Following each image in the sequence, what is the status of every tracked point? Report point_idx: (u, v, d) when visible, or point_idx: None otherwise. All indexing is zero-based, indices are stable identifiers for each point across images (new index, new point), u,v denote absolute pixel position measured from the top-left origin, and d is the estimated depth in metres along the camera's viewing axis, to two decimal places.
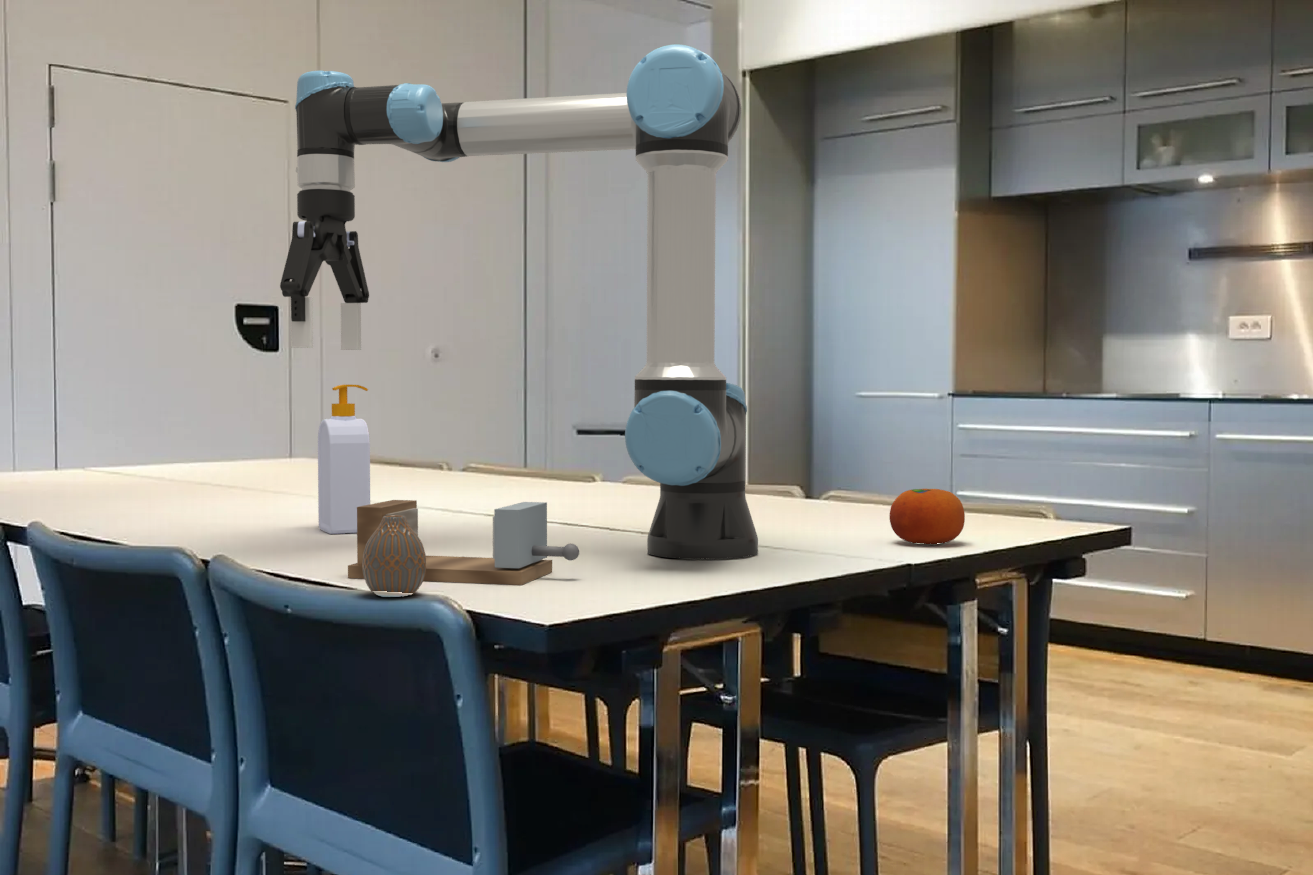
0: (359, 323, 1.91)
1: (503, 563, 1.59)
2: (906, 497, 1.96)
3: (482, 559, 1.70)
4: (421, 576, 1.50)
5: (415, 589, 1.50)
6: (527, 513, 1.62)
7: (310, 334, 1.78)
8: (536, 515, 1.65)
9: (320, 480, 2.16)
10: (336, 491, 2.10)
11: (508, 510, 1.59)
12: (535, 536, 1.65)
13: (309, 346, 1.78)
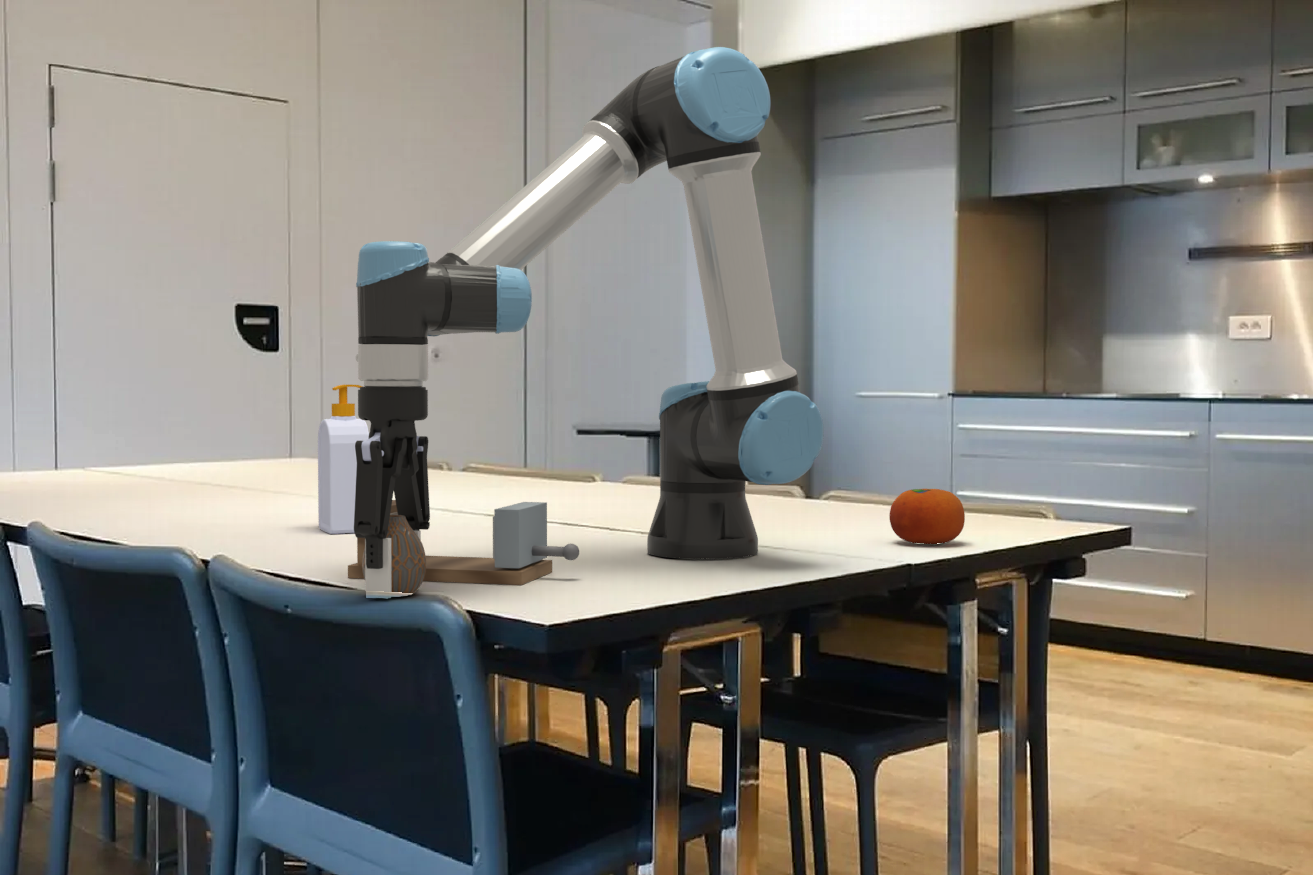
0: None
1: (503, 563, 1.59)
2: (906, 497, 1.96)
3: (482, 559, 1.70)
4: (421, 575, 1.50)
5: (415, 589, 1.50)
6: (527, 513, 1.62)
7: (388, 584, 1.47)
8: (536, 515, 1.65)
9: (320, 480, 2.16)
10: (336, 491, 2.10)
11: (508, 510, 1.59)
12: (535, 536, 1.65)
13: None
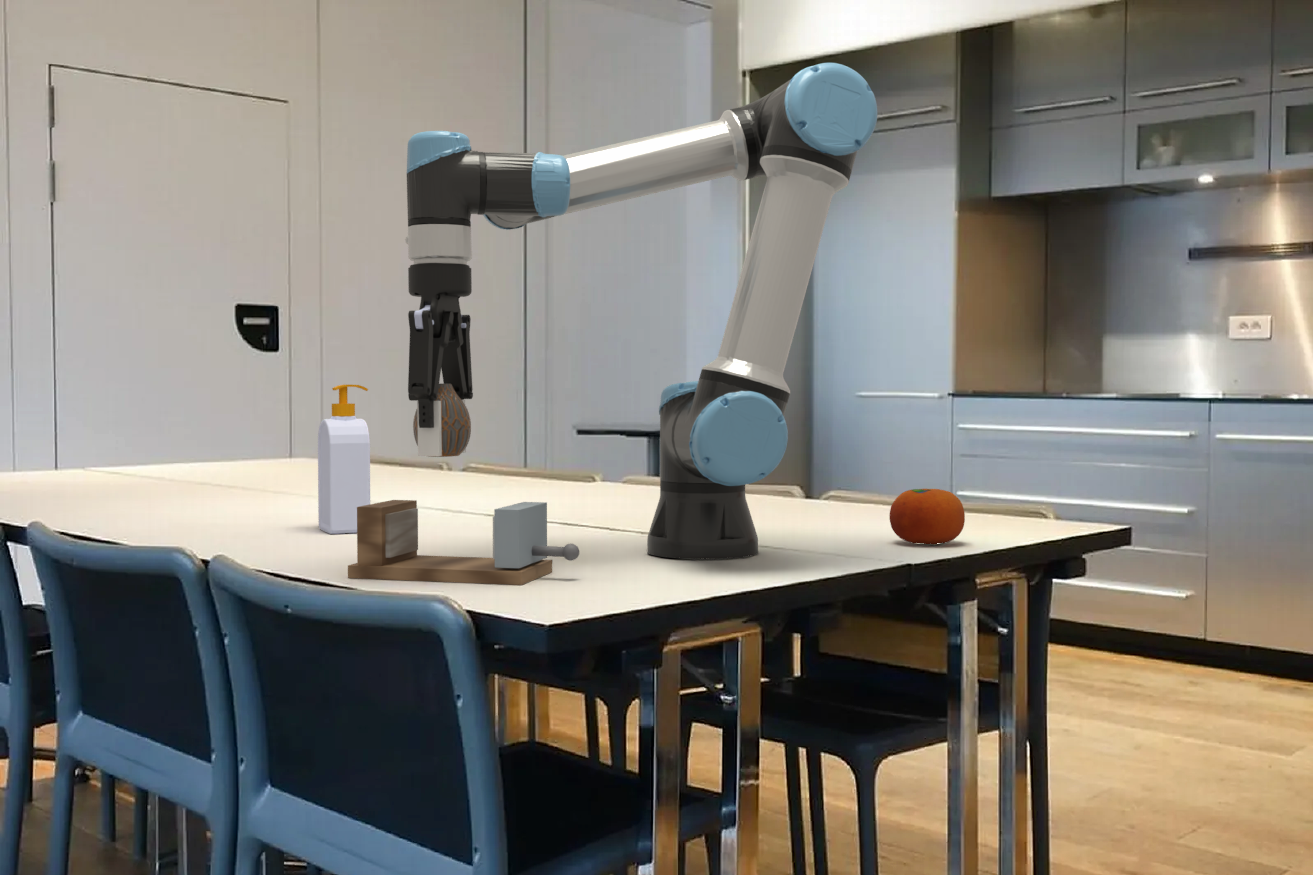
0: None
1: (503, 563, 1.59)
2: (906, 497, 1.96)
3: (482, 559, 1.70)
4: (467, 437, 1.65)
5: (461, 449, 1.65)
6: (527, 513, 1.62)
7: (439, 442, 1.62)
8: (536, 515, 1.65)
9: (320, 480, 2.16)
10: (336, 491, 2.10)
11: (508, 510, 1.59)
12: (535, 536, 1.65)
13: (438, 455, 1.62)
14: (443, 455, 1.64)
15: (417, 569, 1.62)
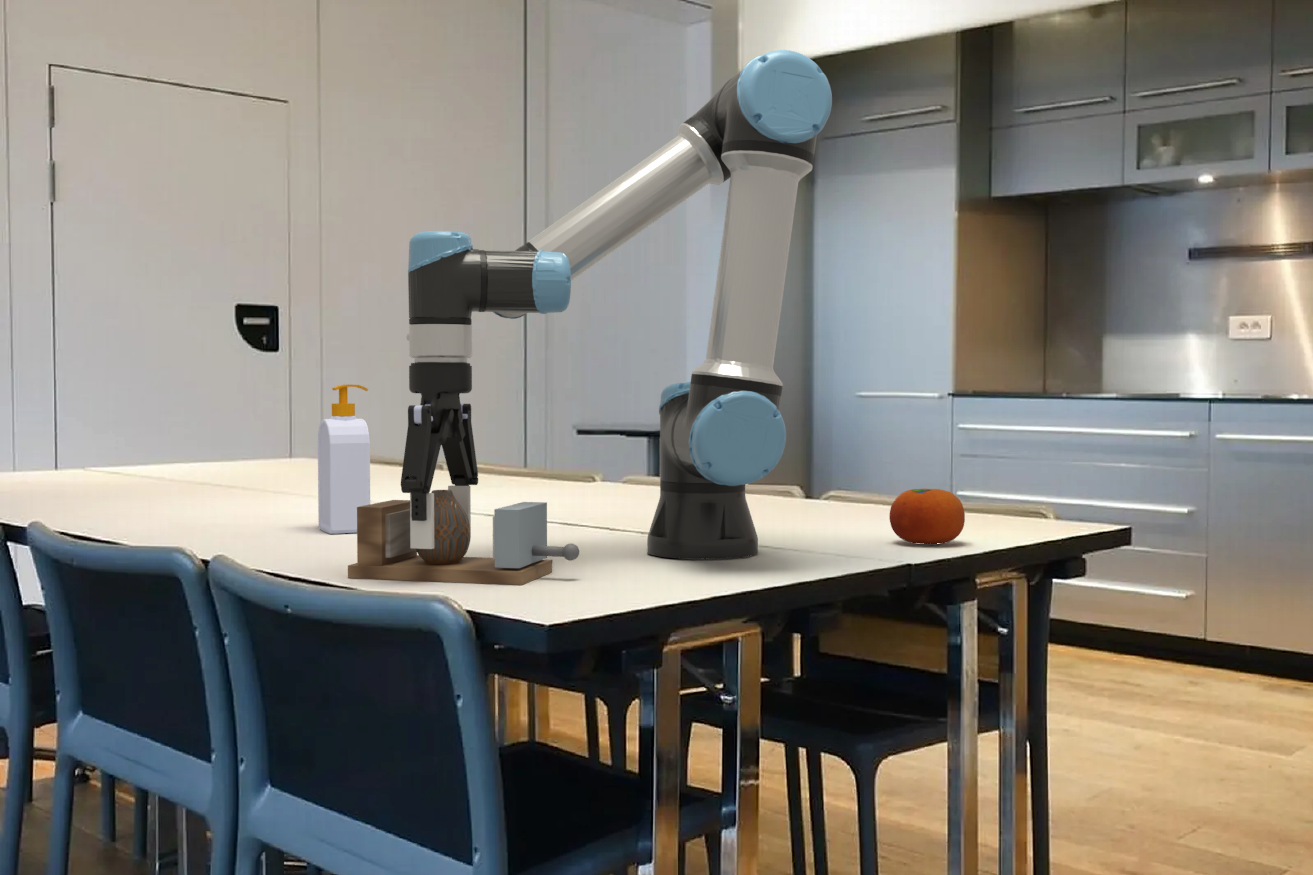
0: (469, 508, 1.72)
1: (503, 563, 1.59)
2: (906, 497, 1.96)
3: (482, 559, 1.70)
4: (466, 544, 1.66)
5: (461, 556, 1.66)
6: (527, 513, 1.62)
7: (431, 535, 1.61)
8: (536, 515, 1.65)
9: (320, 480, 2.16)
10: (336, 491, 2.10)
11: (508, 510, 1.59)
12: (535, 536, 1.65)
13: (431, 547, 1.61)
14: (442, 563, 1.65)
15: (417, 569, 1.62)
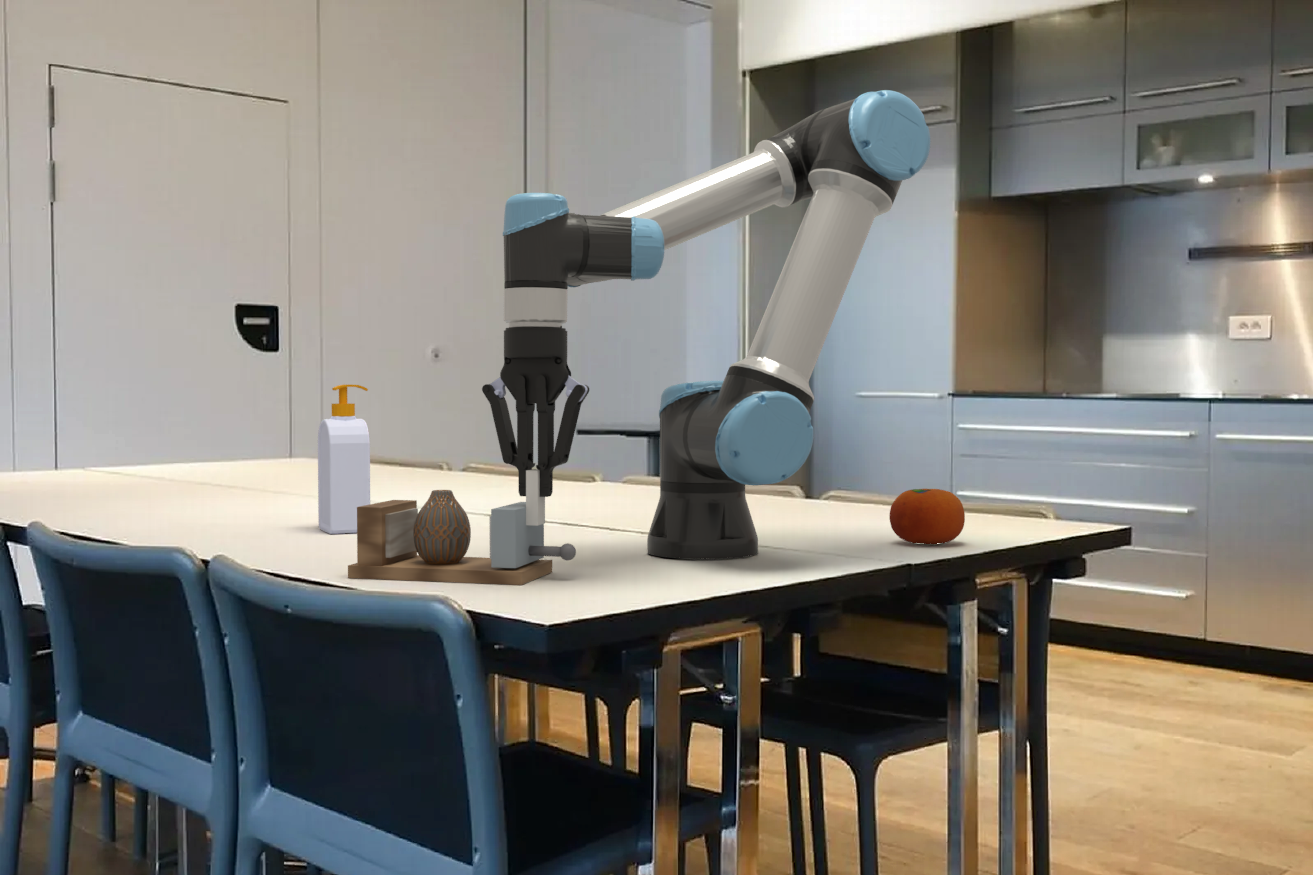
0: (534, 494, 1.62)
1: (500, 563, 1.60)
2: (906, 497, 1.96)
3: (482, 559, 1.70)
4: (466, 544, 1.66)
5: (461, 556, 1.66)
6: (524, 513, 1.62)
7: (526, 511, 1.62)
8: None
9: (320, 480, 2.16)
10: (336, 491, 2.10)
11: (505, 510, 1.59)
12: (532, 536, 1.65)
13: (526, 524, 1.62)
14: (442, 563, 1.65)
15: (417, 569, 1.62)
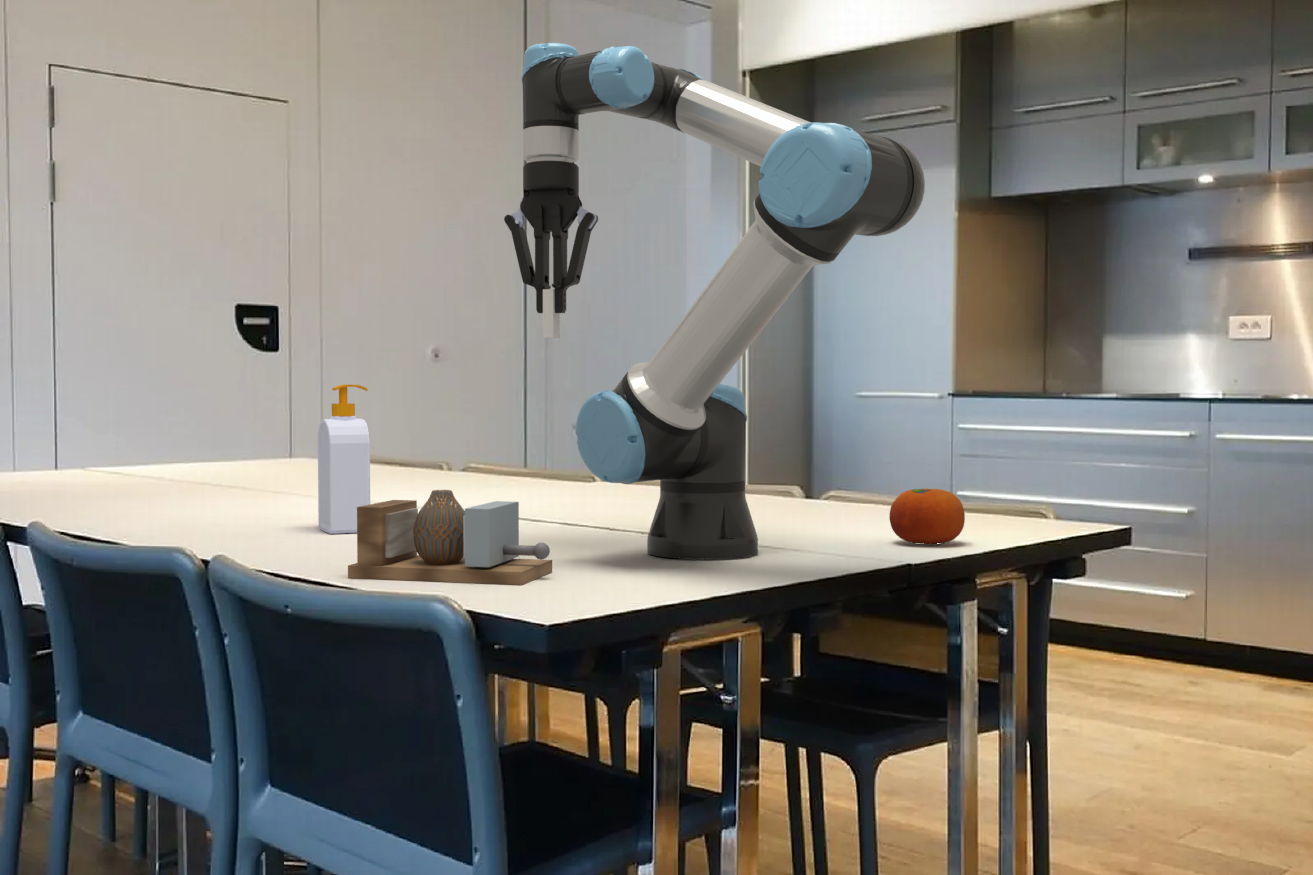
0: (550, 310, 1.85)
1: (474, 562, 1.60)
2: (906, 497, 1.96)
3: None
4: None
5: (461, 556, 1.66)
6: (497, 512, 1.62)
7: None
8: (507, 514, 1.66)
9: (320, 480, 2.16)
10: (336, 491, 2.10)
11: (478, 509, 1.60)
12: (506, 535, 1.66)
13: (543, 336, 1.85)
14: (442, 563, 1.65)
15: (417, 569, 1.62)
